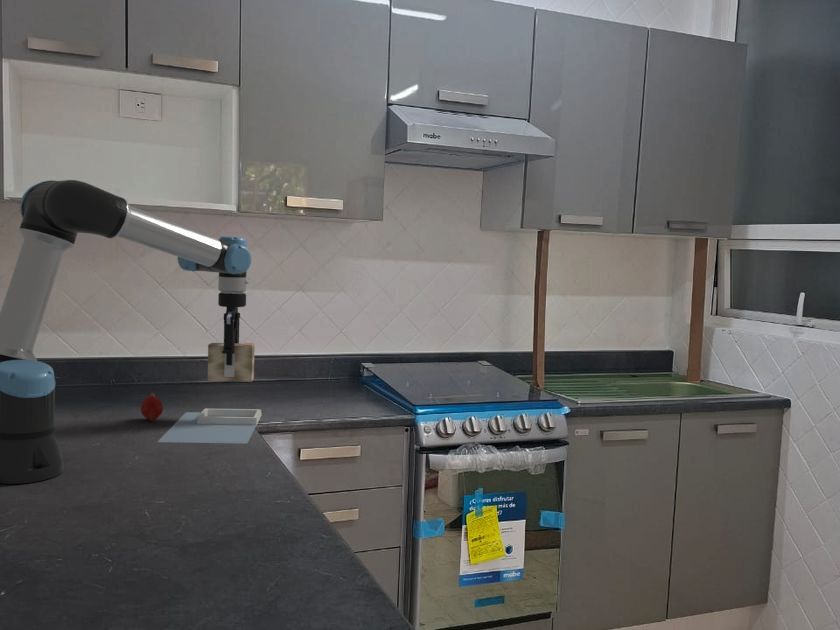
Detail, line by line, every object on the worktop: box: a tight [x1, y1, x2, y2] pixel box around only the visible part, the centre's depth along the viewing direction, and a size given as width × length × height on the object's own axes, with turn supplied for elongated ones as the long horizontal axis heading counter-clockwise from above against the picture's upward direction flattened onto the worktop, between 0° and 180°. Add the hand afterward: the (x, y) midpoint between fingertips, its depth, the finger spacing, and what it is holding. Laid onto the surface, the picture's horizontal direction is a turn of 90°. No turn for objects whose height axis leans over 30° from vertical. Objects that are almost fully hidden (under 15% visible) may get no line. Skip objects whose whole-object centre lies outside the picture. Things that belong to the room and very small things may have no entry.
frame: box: [197, 407, 262, 426], centre depth 214 cm, size 11×16×2 cm
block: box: [207, 342, 255, 383], centre depth 213 cm, size 12×5×10 cm, turn 95°
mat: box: [157, 411, 263, 445], centre depth 206 cm, size 34×22×1 cm, turn 5°
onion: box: [140, 392, 164, 422], centre depth 210 cm, size 6×6×8 cm
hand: (231, 374), depth 213 cm, fingers closed on block, 5 cm apart
